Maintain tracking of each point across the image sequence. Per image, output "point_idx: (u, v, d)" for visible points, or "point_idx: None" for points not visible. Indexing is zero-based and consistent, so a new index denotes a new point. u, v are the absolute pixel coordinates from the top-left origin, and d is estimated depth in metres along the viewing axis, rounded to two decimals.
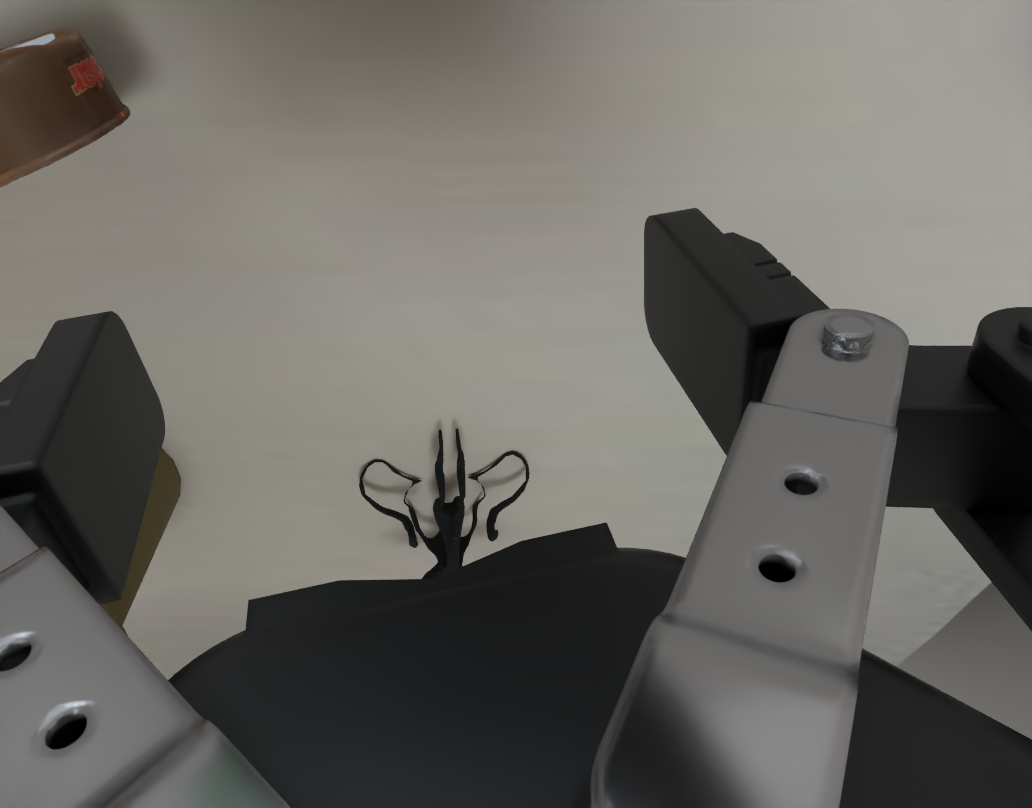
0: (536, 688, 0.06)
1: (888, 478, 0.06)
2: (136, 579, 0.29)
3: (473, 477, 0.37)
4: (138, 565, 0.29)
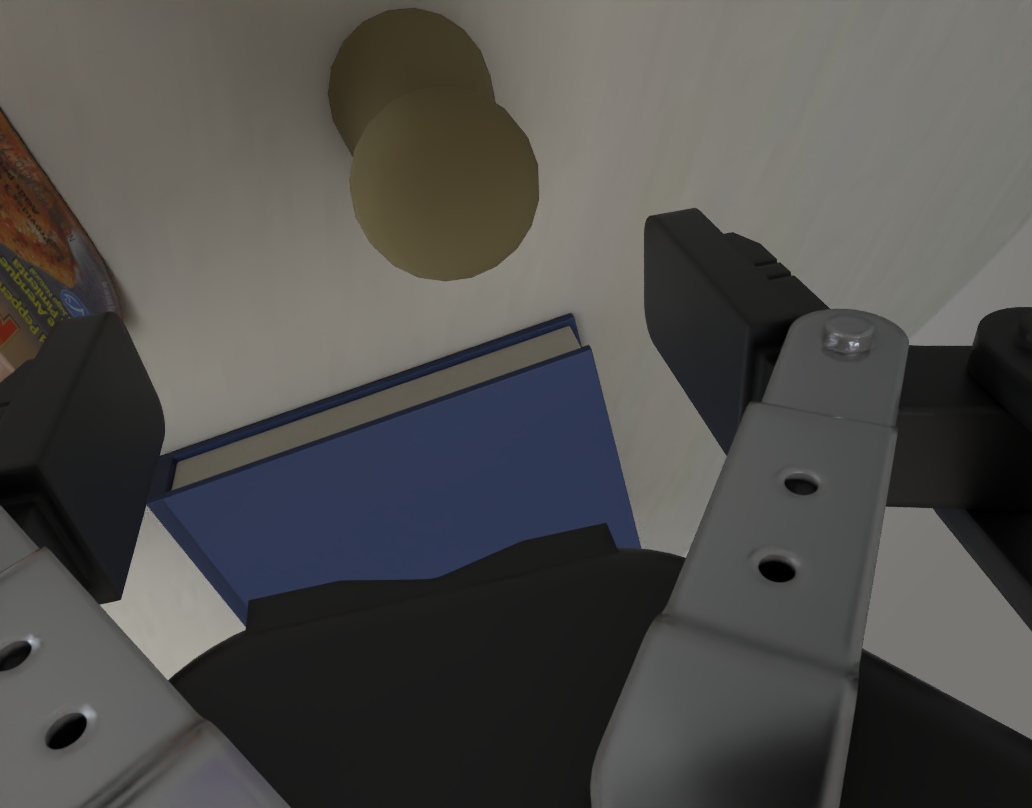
0: (536, 688, 0.06)
1: (888, 478, 0.06)
2: (434, 70, 0.23)
3: None
4: (423, 65, 0.23)
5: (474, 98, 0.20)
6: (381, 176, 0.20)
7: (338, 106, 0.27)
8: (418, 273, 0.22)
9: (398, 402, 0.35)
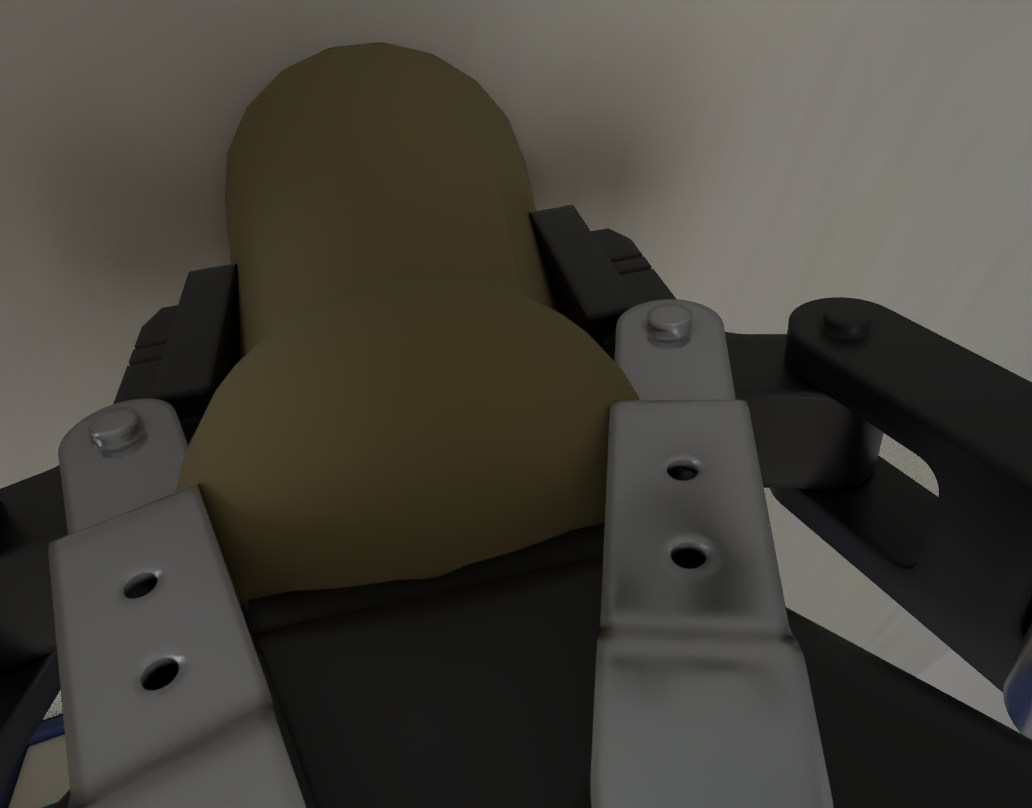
0: (536, 688, 0.06)
1: (754, 447, 0.06)
2: (409, 198, 0.10)
3: None
4: (385, 184, 0.10)
5: (509, 335, 0.07)
6: None
7: (229, 240, 0.13)
8: None
9: None
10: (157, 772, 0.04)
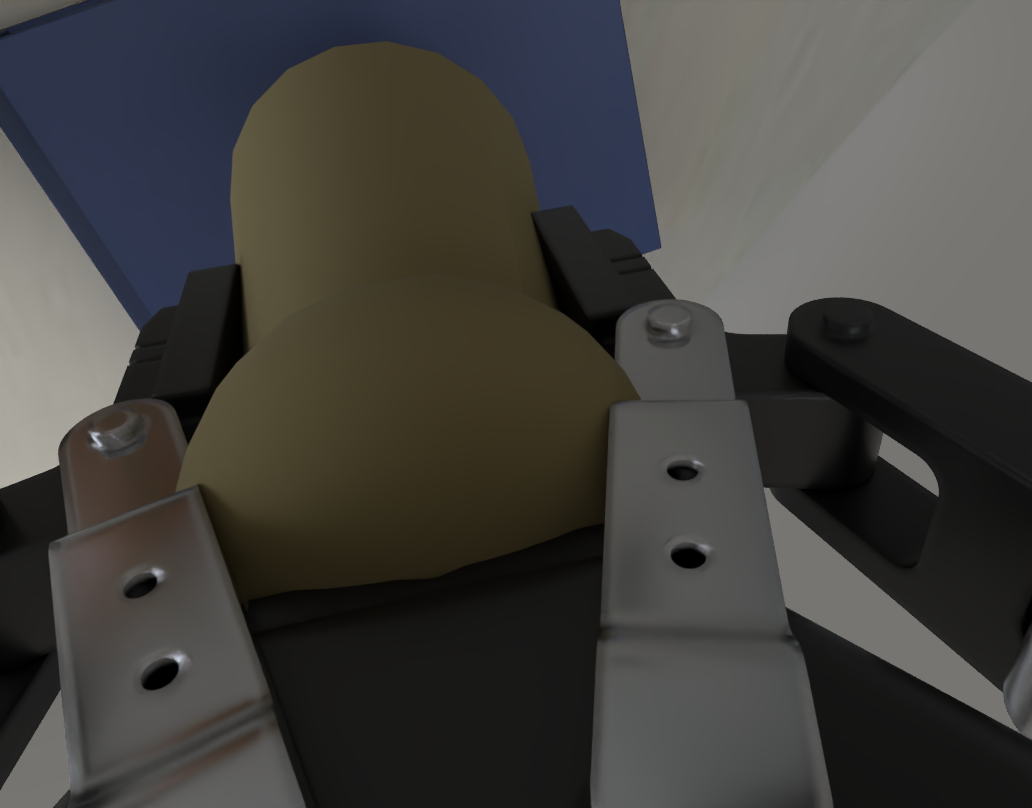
0: (536, 688, 0.06)
1: (754, 448, 0.06)
2: (411, 196, 0.10)
3: None
4: (388, 183, 0.10)
5: (509, 334, 0.07)
6: None
7: (234, 238, 0.13)
8: None
9: None
10: (157, 772, 0.04)
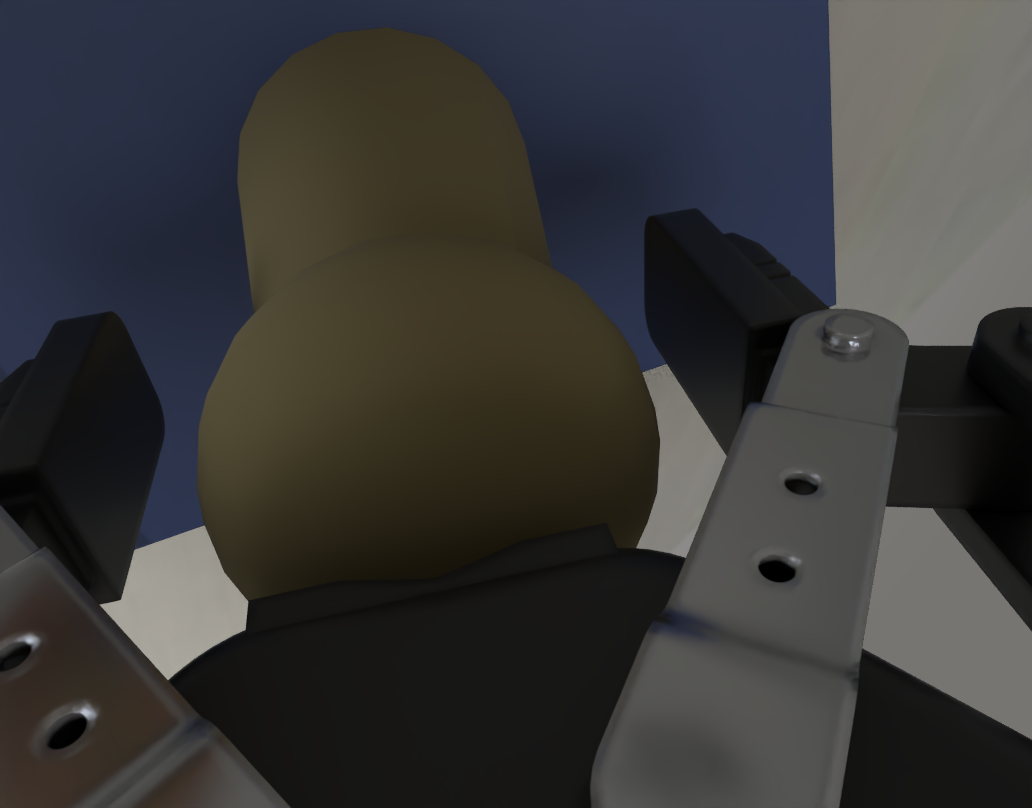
0: (536, 688, 0.06)
1: (888, 478, 0.06)
2: (413, 167, 0.11)
3: None
4: (391, 155, 0.11)
5: (505, 280, 0.08)
6: (254, 504, 0.07)
7: (242, 215, 0.14)
8: None
9: None
10: None
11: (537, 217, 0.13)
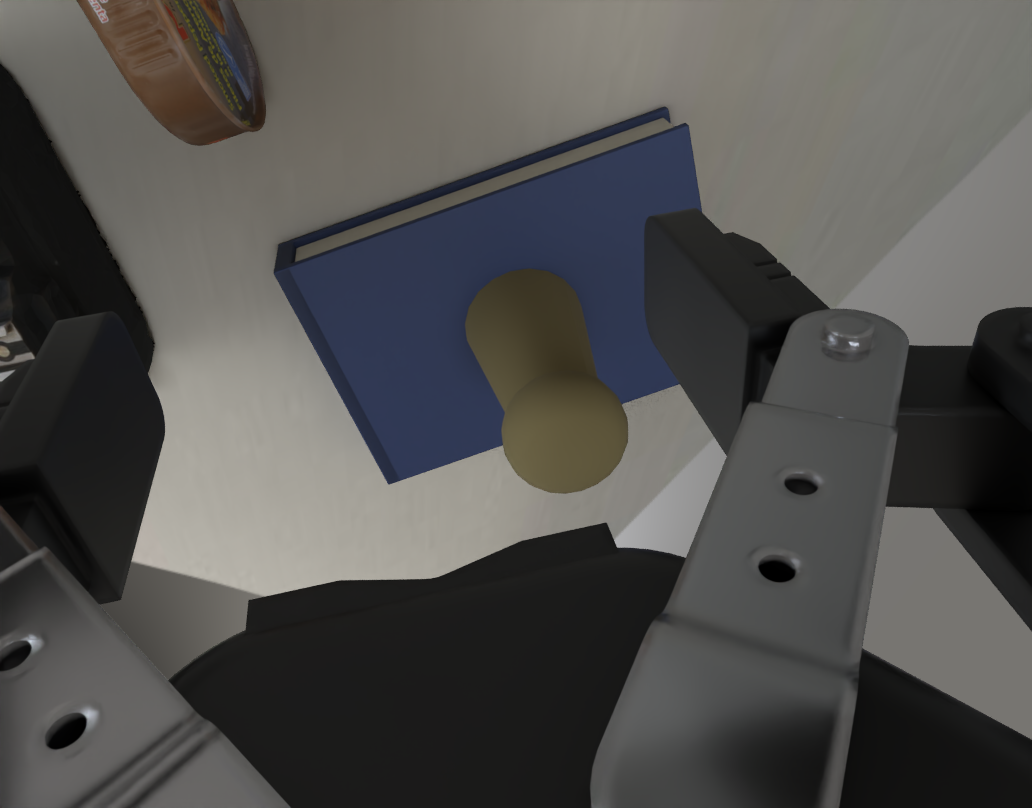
0: (536, 688, 0.06)
1: (888, 478, 0.06)
2: (552, 341, 0.34)
3: None
4: (544, 336, 0.34)
5: (587, 386, 0.31)
6: (528, 440, 0.30)
7: (477, 344, 0.37)
8: (546, 490, 0.32)
9: (503, 185, 0.37)
10: None
11: (590, 349, 0.36)
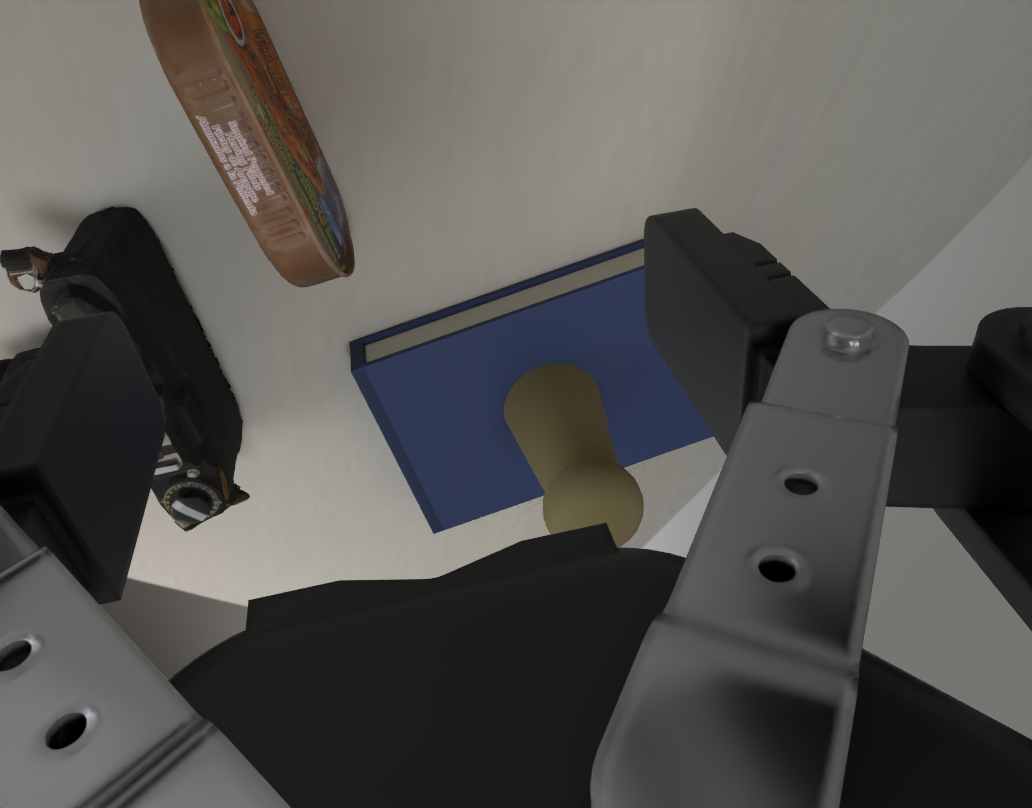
0: (536, 688, 0.06)
1: (888, 478, 0.06)
2: (581, 431, 0.42)
3: None
4: (574, 426, 0.42)
5: (613, 474, 0.39)
6: (566, 518, 0.39)
7: (516, 426, 0.45)
8: None
9: (538, 297, 0.45)
10: None
11: (609, 433, 0.44)
